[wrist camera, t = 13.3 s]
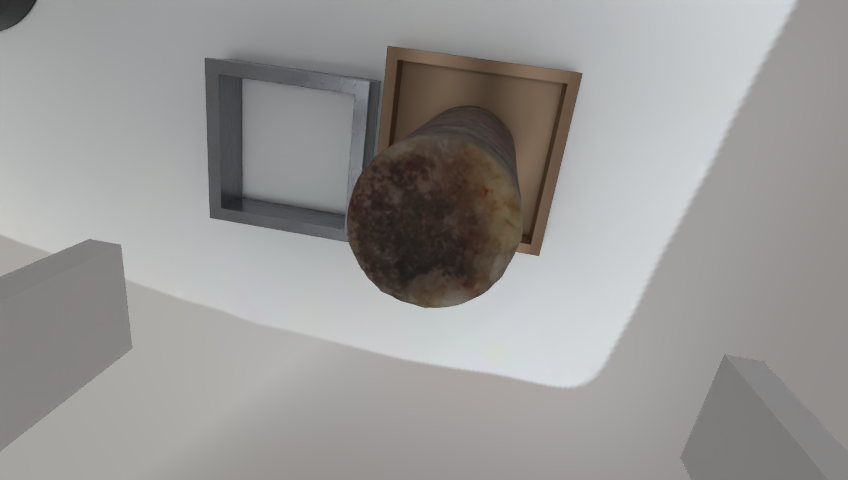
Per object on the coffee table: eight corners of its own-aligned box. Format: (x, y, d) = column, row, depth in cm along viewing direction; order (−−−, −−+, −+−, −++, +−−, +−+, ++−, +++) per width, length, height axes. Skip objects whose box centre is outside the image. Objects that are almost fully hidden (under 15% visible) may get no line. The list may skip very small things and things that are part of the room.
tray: (378, 216, 41) (370, 226, 38) (395, 48, 36) (387, 45, 33) (535, 242, 39) (538, 255, 37) (575, 73, 35) (582, 73, 32)
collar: (231, 206, 42) (209, 217, 39) (229, 59, 38) (204, 57, 34) (366, 229, 41) (355, 243, 38) (380, 81, 37) (369, 82, 33)
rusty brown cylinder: (399, 151, 38) (308, 230, 19) (463, 80, 35) (430, 90, 16) (468, 216, 39) (445, 350, 20) (534, 151, 36) (579, 235, 17)
